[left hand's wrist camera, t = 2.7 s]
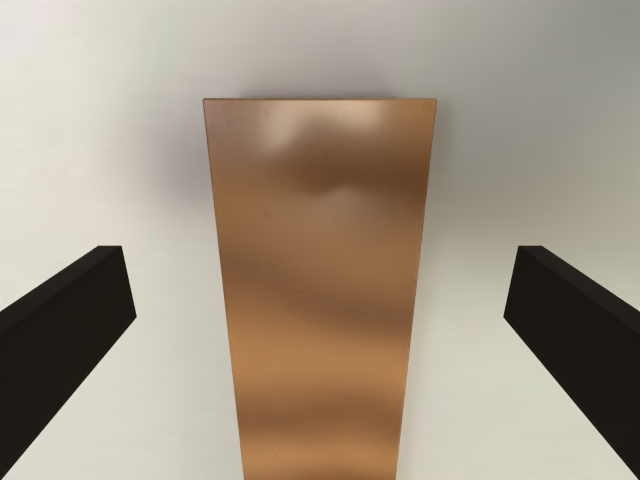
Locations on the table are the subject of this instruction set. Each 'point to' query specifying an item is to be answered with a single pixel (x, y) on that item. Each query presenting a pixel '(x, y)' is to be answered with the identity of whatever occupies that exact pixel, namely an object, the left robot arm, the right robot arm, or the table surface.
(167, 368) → the table surface
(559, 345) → the left robot arm
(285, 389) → the slab
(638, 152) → the table surface
